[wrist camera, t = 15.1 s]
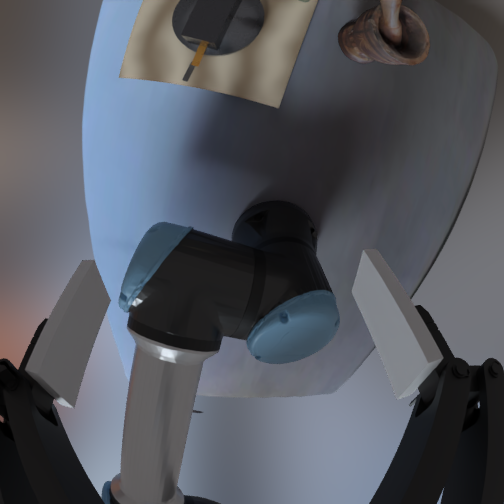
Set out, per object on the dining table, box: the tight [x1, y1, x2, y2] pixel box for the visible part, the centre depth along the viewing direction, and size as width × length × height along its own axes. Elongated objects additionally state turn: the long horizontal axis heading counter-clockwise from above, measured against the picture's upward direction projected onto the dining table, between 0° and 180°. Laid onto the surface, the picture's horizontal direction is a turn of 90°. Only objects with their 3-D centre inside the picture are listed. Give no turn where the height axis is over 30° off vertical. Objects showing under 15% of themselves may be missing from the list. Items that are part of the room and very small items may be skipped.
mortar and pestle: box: [338, 0, 430, 65], centre depth 21 cm, size 12×9×20 cm
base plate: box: [119, 0, 318, 109], centre depth 26 cm, size 24×22×4 cm
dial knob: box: [172, 0, 264, 67], centre depth 23 cm, size 14×12×8 cm
